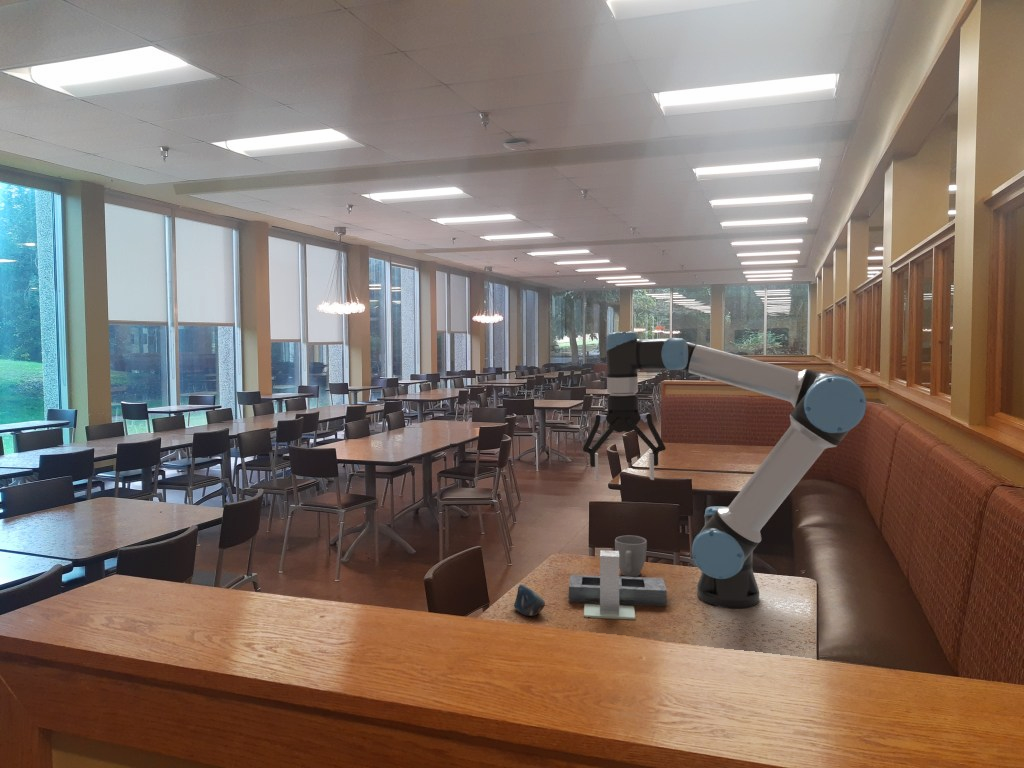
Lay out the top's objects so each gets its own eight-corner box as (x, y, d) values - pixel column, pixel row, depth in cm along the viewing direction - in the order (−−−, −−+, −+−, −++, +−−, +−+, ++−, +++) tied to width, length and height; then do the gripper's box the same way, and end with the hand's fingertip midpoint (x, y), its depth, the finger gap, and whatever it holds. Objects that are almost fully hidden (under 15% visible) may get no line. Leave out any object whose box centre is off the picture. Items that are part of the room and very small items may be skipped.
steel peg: (618, 607, 167) (618, 550, 166) (619, 614, 163) (619, 556, 162) (600, 606, 168) (600, 550, 167) (600, 613, 163) (600, 556, 162)
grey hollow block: (663, 593, 178) (663, 578, 177) (666, 606, 169) (666, 590, 169) (570, 589, 181) (570, 574, 181) (568, 602, 172) (568, 586, 172)
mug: (616, 567, 199) (616, 534, 198) (647, 569, 196) (647, 536, 196) (611, 581, 187) (611, 546, 186) (644, 583, 185) (644, 548, 184)
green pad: (633, 608, 168) (633, 606, 168) (635, 619, 161) (635, 617, 161) (584, 606, 169) (584, 604, 169) (583, 617, 162) (583, 615, 162)
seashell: (538, 611, 159) (550, 577, 167) (503, 609, 164) (516, 575, 171) (546, 628, 162) (558, 593, 170) (512, 625, 167) (525, 592, 174)
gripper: (671, 392, 172) (672, 475, 173) (571, 394, 174) (573, 477, 175) (676, 394, 165) (677, 481, 166) (572, 396, 167) (574, 483, 168)
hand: (624, 479), depth 171 cm, fingers open, 13 cm apart
